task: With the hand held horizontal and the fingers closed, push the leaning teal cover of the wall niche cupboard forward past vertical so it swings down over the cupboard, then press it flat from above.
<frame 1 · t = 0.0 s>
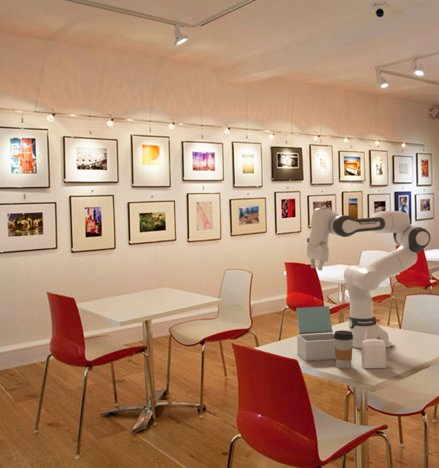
hand: (316, 269, 258), 39 cm above the table, tool pointing down, fingers open, 8 cm apart
wall niche cupboard: (320, 356, 246), on the table
coffee cup: (343, 367, 231), on the table
photo printer: (373, 367, 230), on the table
cover: (314, 320, 253), point 15 cm above the table, hinge at 110.0°
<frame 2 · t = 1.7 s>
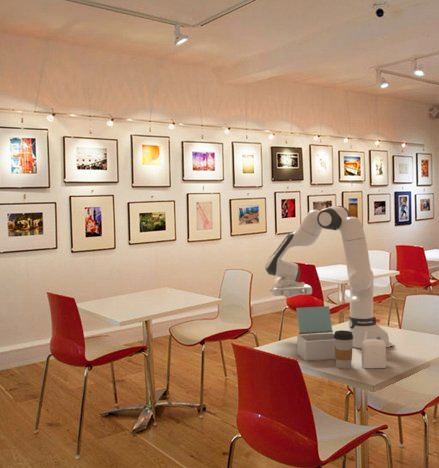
hand: (296, 293, 265), 26 cm above the table, tool horizontal, fingers open, 6 cm apart
nothing on the table moved.
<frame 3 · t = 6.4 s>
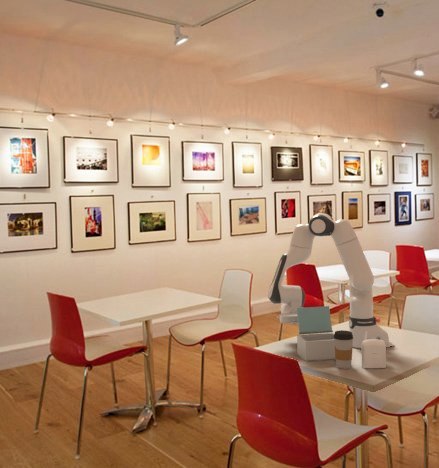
hand: (304, 321, 253), 15 cm above the table, tool horizontal, fingers closed, pressing on cover
cover: (314, 320, 253), point 15 cm above the table, hinge at 109.5°, touching gripper
everything else where it was.
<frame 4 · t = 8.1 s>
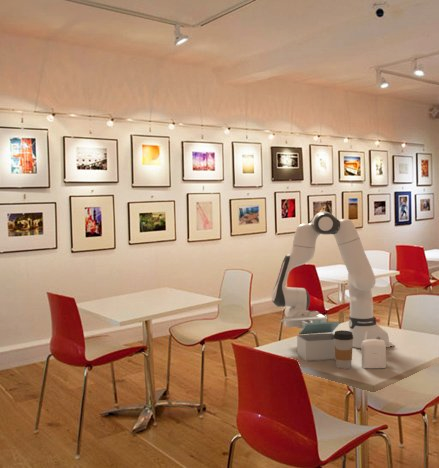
hand: (310, 325, 245), 15 cm above the table, tool horizontal, fingers closed, pressing on cover
cover: (319, 328, 247), point 13 cm above the table, hinge at 34.0°, touching gripper
everything else where it was.
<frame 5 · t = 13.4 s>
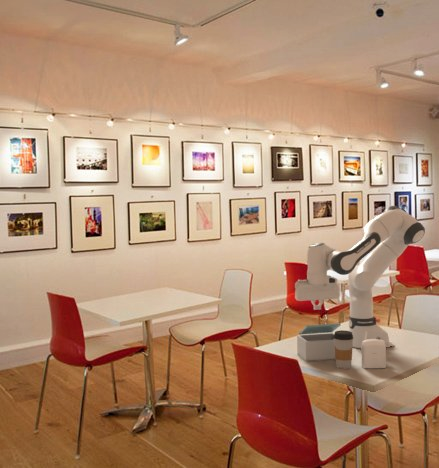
hand: (317, 309, 242), 23 cm above the table, tool pointing down, fingers closed
cover: (319, 329, 247), point 13 cm above the table, hinge at 29.2°
everything else where it was.
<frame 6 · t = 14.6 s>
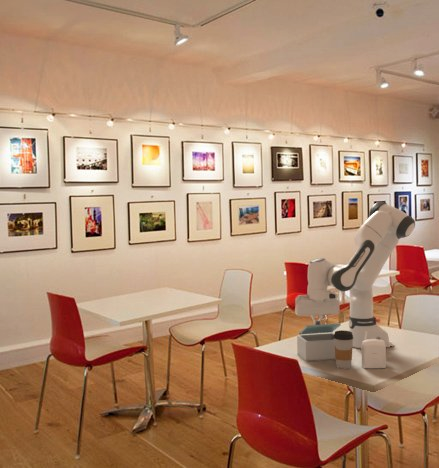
hand: (317, 324, 242), 16 cm above the table, tool pointing down, fingers closed, pressing on cover
cover: (319, 329, 247), point 13 cm above the table, hinge at 29.0°, touching gripper
everything else where it was.
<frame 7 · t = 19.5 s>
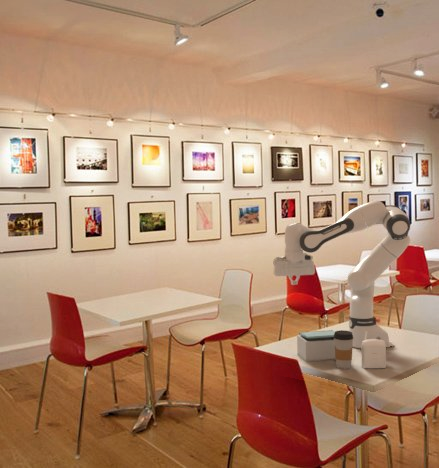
hand: (294, 284, 261), 31 cm above the table, tool pointing down, fingers closed
cover: (320, 334, 246), point 10 cm above the table, hinge at 5.1°
everything else where it was.
at the end: cover at +5° (first picture: +110°) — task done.
